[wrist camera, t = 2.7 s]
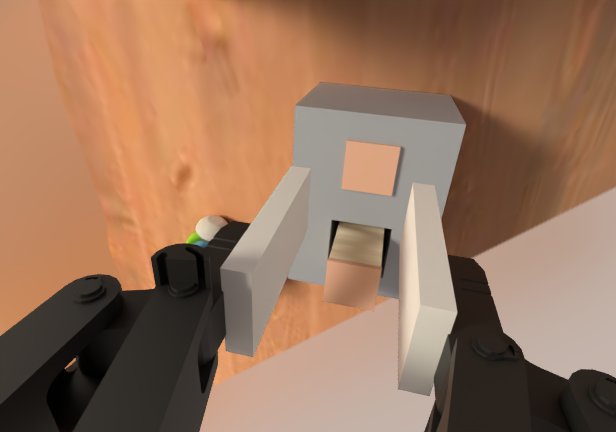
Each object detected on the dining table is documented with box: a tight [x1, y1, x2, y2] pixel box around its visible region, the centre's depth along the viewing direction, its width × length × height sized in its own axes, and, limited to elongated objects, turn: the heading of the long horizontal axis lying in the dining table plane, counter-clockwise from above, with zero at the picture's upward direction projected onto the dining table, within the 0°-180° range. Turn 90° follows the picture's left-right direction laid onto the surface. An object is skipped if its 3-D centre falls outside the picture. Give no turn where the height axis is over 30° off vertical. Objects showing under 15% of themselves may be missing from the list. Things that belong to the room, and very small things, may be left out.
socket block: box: [288, 82, 466, 299], centre depth 35 cm, size 12×16×10 cm
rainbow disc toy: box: [186, 215, 228, 248], centre depth 45 cm, size 8×10×7 cm
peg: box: [323, 221, 384, 311], centre depth 32 cm, size 4×4×9 cm
